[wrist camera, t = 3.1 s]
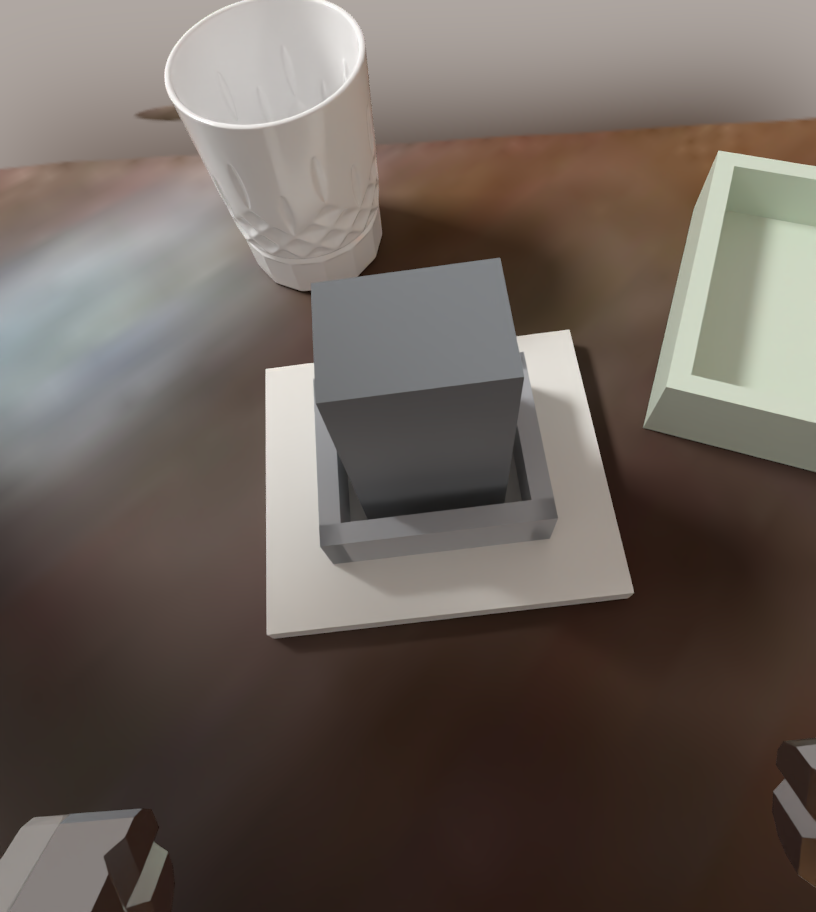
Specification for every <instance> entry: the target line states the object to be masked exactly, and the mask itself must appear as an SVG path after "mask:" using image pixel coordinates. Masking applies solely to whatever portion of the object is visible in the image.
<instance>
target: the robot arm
mask: <svg viewBox="0 0 816 912" xmlns="http://www.w3.org/2000/svg"><path fill="white" fill-rule="evenodd" d="M776 766H777V767H778V769H779V770H780V772H781V773H782V775H783V776H784V778H785V779H784V780H783V781H782V782H781V784H780V785H779V786H778V787H777V788H776V789H775V790H774V791H773V807H772V813H773V817H774V821H775V826H776V830H777V834H778V837H779V839H780V842H781V844H782V846H783V849H784V851H785V853H786V855H787V857H788V859H789V860H790V862H791V864H792V865H793V867H794V869H795V871H796V872H797V874H798V875H799V876H800V877H802V878H803V879H804V880H806V881H807V882H809V883H810V884H811V885H813V886H814V887H816V738H808V739H800V740H791V741H783V743H782V744H781V745H780V747H779V748H778V751H777V759H776ZM158 829H159V826H158V823H157V821H156V819H155V816H154V814H153V812H152V809H143V808H142V809H129V810H115V811H102V812H88V813H75V814H68V815H56V816H44V817H34V818H32V819H31V820H30V821H29V822H27V823H26V824H25V825H24V826H22V827H21V828H20V830H19V831H18V833H17V834H16V836H15V838H14V839H13V841H12V842H11V844H10V845H9V847H8V849H7V850H6V852H5V853H4V855H3V857H2V858H1V860H0V912H171V910H172V902H173V894H174V886H175V882H174V872H173V865H172V862H171V859H170V856H169V853H168V852H167V851H166V850H165V849H163V848H162V847H160V846H159V845H158V844H156V843H155V842H154V840H155V837H156V834H157V832H158Z"/></svg>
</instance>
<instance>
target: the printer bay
mask: <svg viewBox="0 0 816 912" xmlns="http://www.w3.org/2000/svg"><path fill="white" fill-rule="evenodd" d="M516 338H517V343H518V348H519V353H520V358H521V363H522V368H523V373H524V382H523V388H522V395H521V401H520V408H519V414H518V420H517V427H516V433H515V440H514V446H513V452H512V459H511V465H510V472H509V478H508V484H507V491H506V497H505V503H503V504H494V505H486V506H478V507H469V508H461V509H453V510H445V511H436V512H428V513H420V514H411V515H403V516H395V517H386V518H378V519H370V520H368V519H367V517H366V515H365V512H364V510H363V508H362V506H361V503H360V501H359V499H358V497H357V495H356V492H355V490H354V488H353V486H352V483H351V481H350V479H349V477H348V474H347V472H346V470H345V468H344V466H343V463H342V461H341V459H340V457H339V454H338V452H337V450H336V448H335V446H334V443H333V441H332V439H331V437H330V434H329V432H328V430H327V428H326V425H325V423H324V421H323V419H322V417H321V414H320V412H319V410H318V408H317V405H316V400H315V376H314V363H309V364H301V365H294V366H286V367H278V368H271V369H266V604H267V635H268V636H270V637H272V638H273V639H276V638H285V637H293V636H302V635H311V634H320V633H328V632H337V631H346V630H355V629H364V628H372V627H381V626H390V625H399V624H407V623H416V622H425V621H434V620H442V619H451V618H460V617H469V616H477V615H486V614H495V613H504V612H512V611H521V610H530V609H539V608H547V607H556V606H565V605H574V604H582V603H591V602H600V601H609V600H618V599H626V598H629V597H630V596H631V595H632V594H634V590H633V585H632V581H631V577H630V573H629V569H628V565H627V561H626V557H625V553H624V549H623V545H622V541H621V537H620V533H619V529H618V525H617V521H616V516H615V512H614V508H613V504H612V500H611V496H610V492H609V488H608V484H607V480H606V476H605V472H604V468H603V464H602V460H601V456H600V451H599V447H598V443H597V439H596V435H595V431H594V427H593V423H592V419H591V415H590V411H589V407H588V403H587V399H586V395H585V391H584V387H583V382H582V378H581V374H580V370H579V366H578V362H577V358H576V354H575V350H574V346H573V342H572V338H571V334H570V330H562V331H554V332H547V333H539V334H531V335H524V336H516Z"/></svg>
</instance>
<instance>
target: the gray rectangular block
mask: <svg viewBox="0 0 816 912" xmlns="http://www.w3.org/2000/svg"><path fill="white" fill-rule="evenodd" d="M311 304H312V328H313V352H314V376H315V400H316V405H317V408H318V410H319V412H320V414H321V417H322V419H323V421H324V423H325V425H326V428H327V430H328V432H329V434H330V437H331V439H332V441H333V443H334V446H335V448H336V450H337V452H338V454H339V457H340V459H341V461H342V463H343V466H344V468H345V470H346V472H347V474H348V477H349V479H350V481H351V483H352V486H353V488H354V490H355V492H356V495H357V497H358V499H359V501H360V503H361V506H362V508H363V510H364V512H365V515H366V517H367V519H368V520H370V519H378V518H386V517H395V516H403V515H411V514H420V513H428V512H436V511H445V510H453V509H461V508H469V507H478V506H486V505H494V504H503V503H505V497H506V491H507V484H508V478H509V472H510V465H511V459H512V452H513V446H514V440H515V433H516V427H517V420H518V414H519V408H520V401H521V395H522V388H523V382H524V373H523V368H522V363H521V358H520V353H519V348H518V343H517V338H516V333H515V328H514V323H513V319H512V314H511V309H510V304H509V299H508V294H507V289H506V284H505V279H504V274H503V269H502V264H501V259H500V258H494V259H486V260H479V261H472V262H464V263H457V264H449V265H442V266H435V267H427V268H420V269H412V270H405V271H398V272H390V273H383V274H375V275H368V276H361V277H353V278H346V279H338V280H331V281H324V282H316V283H311Z"/></svg>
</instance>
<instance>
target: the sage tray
mask: <svg viewBox="0 0 816 912" xmlns="http://www.w3.org/2000/svg"><path fill="white" fill-rule="evenodd" d="M643 428H646V429H650V430H654V431H658V432H662V433H666V434H669V435H673V436H677V437H681V438H685V439H689V440H693V441H697V442H701V443H704V444H708V445H712V446H716V447H720V448H724V449H728V450H732V451H736V452H739V453H743V454H747V455H751V456H755V457H759V458H763V459H767V460H771V461H775V462H778V463H782V464H786V465H790V466H794V467H798V468H802V469H806V470H810V471H813V472H816V166H810V165H804V164H798V163H791V162H785V161H779V160H773V159H767V158H761V157H755V156H748V155H742V154H736V153H730V152H724V151H718V153H717V155H716V158H715V160H714V163H713V165H712V167H711V170H710V172H709V174H708V177H707V179H706V181H705V184H704V186H703V188H702V191H701V193H700V195H699V198H698V200H697V203H696V205H695V207H694V210H693V214H692V219H691V223H690V227H689V232H688V236H687V240H686V245H685V249H684V253H683V258H682V262H681V266H680V271H679V275H678V279H677V284H676V288H675V292H674V297H673V301H672V305H671V310H670V314H669V318H668V323H667V327H666V331H665V336H664V340H663V344H662V349H661V353H660V357H659V362H658V366H657V370H656V375H655V379H654V383H653V387H652V392H651V396H650V400H649V405H648V409H647V413H646V418H645V422H644V426H643Z"/></svg>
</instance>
